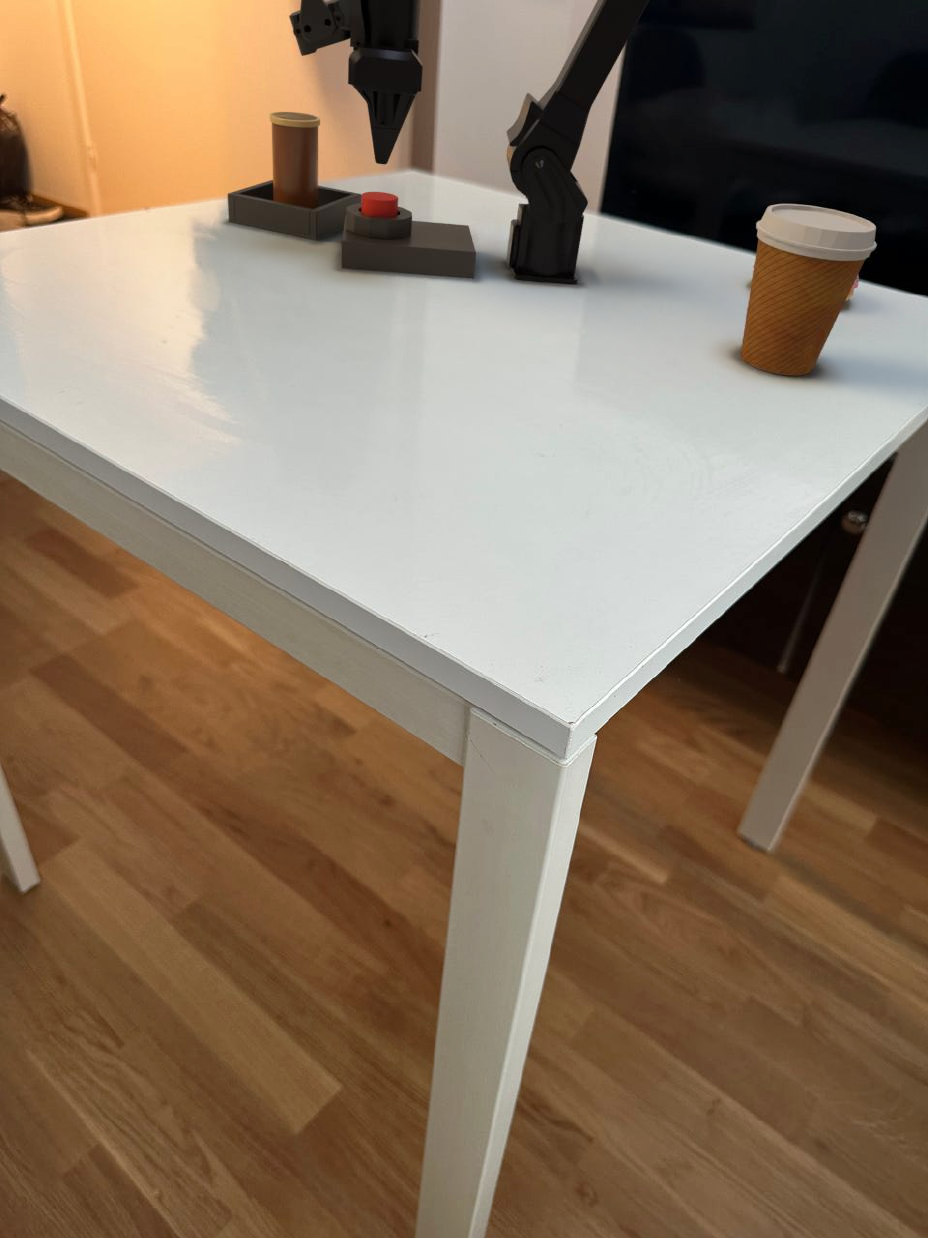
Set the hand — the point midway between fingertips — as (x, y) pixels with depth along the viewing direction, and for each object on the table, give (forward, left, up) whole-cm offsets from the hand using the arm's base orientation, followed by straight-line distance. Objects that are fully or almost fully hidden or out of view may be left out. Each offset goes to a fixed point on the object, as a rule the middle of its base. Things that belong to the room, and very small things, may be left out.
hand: (381, 161), depth 89 cm
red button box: (-3, 0, -9) cm, 9 cm away
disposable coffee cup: (-35, +22, -9) cm, 42 cm away
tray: (+9, -11, -9) cm, 17 cm away
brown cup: (+9, -11, -8) cm, 17 cm away
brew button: (0, 0, -5) cm, 5 cm away
